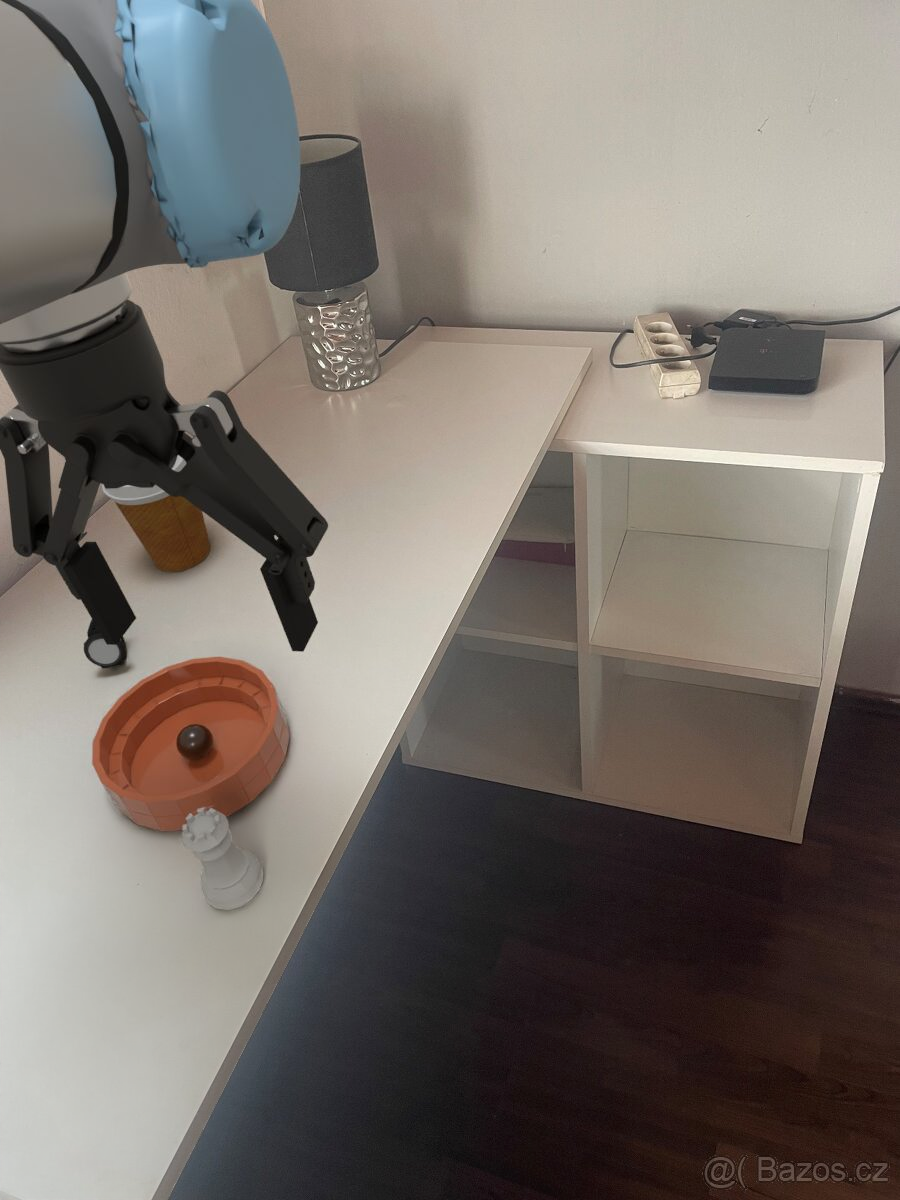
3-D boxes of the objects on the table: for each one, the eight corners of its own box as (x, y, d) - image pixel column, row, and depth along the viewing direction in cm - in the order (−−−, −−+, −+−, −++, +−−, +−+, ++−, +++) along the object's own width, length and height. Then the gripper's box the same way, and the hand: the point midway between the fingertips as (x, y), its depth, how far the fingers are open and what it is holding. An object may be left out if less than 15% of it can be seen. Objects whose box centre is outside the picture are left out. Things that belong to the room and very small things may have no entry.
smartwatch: (89, 676, 83) (67, 639, 80) (116, 639, 87) (96, 602, 84) (127, 679, 82) (106, 641, 79) (152, 641, 86) (133, 604, 83)
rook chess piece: (277, 880, 64) (246, 817, 58) (228, 925, 62) (191, 863, 56) (242, 847, 66) (209, 784, 61) (194, 889, 64) (155, 827, 59)
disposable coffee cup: (141, 541, 100) (99, 452, 92) (222, 520, 101) (188, 430, 93) (139, 591, 93) (94, 499, 85) (227, 567, 94) (190, 474, 86)
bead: (206, 770, 72) (194, 747, 70) (176, 764, 73) (164, 741, 71) (224, 742, 74) (213, 719, 72) (195, 736, 75) (183, 714, 73)
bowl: (235, 853, 66) (217, 819, 63) (77, 813, 71) (53, 780, 68) (320, 706, 76) (307, 670, 73) (176, 680, 81) (159, 646, 78)
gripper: (317, 269, 42) (406, 599, 56) (-82, 309, 49) (81, 594, 63) (258, 334, 37) (372, 683, 50) (-181, 369, 44) (20, 666, 57)
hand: (210, 634), depth 56 cm, fingers open, 13 cm apart
